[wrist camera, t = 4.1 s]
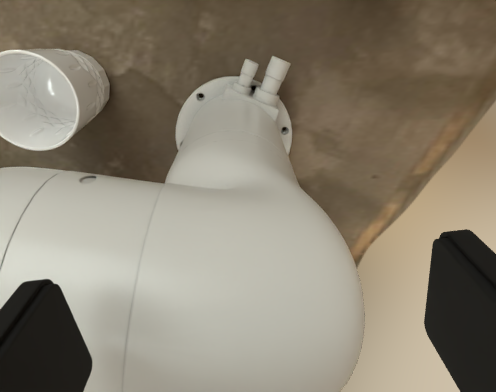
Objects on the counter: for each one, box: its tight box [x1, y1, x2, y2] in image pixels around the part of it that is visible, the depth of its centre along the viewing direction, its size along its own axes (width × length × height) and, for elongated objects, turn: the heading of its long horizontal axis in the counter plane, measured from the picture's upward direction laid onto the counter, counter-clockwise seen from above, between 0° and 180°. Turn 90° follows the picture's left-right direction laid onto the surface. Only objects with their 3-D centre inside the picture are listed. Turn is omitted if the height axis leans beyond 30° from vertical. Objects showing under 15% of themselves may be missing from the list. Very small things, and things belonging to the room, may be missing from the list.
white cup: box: [0, 49, 110, 151], centre depth 34 cm, size 8×8×10 cm
